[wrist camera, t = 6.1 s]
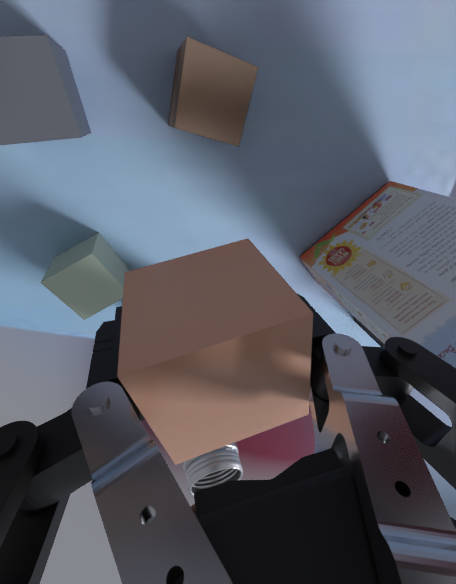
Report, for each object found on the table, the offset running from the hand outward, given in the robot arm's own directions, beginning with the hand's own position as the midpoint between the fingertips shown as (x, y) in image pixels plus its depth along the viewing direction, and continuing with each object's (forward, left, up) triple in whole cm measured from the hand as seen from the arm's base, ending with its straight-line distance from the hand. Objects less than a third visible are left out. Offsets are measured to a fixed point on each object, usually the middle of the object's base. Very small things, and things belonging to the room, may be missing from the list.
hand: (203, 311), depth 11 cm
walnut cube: (-8, +4, -19) cm, 21 cm away
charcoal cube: (-8, -8, -19) cm, 22 cm away
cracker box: (+6, +23, -19) cm, 30 cm away
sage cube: (+6, -8, -19) cm, 21 cm away
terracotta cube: (0, 0, -1) cm, 1 cm away
